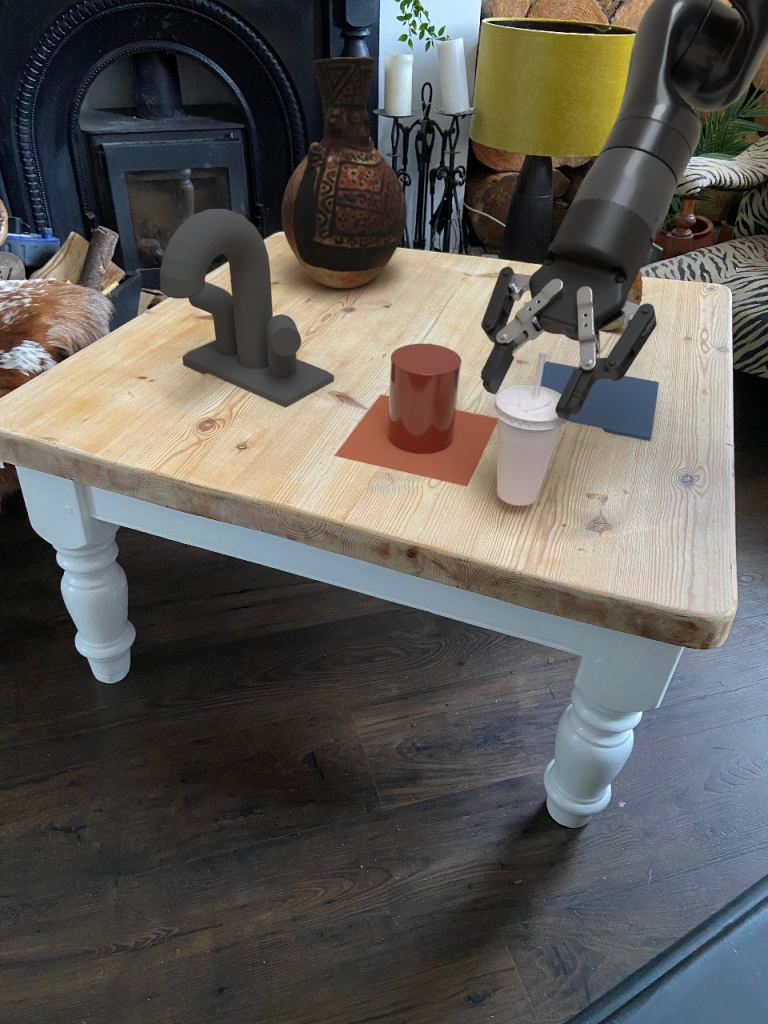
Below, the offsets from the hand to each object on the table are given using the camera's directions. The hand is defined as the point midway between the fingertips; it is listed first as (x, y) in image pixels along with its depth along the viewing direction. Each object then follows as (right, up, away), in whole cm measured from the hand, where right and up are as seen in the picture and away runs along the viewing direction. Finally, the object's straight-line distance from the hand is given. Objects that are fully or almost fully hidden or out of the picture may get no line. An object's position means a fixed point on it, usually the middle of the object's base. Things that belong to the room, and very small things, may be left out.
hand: (524, 402), depth 61 cm
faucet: (-29, +6, +26) cm, 40 cm away
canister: (-8, -1, +18) cm, 19 cm away
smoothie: (+1, -8, +7) cm, 11 cm away
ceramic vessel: (-18, +27, +54) cm, 63 cm away
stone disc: (+19, +17, +44) cm, 51 cm away
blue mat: (+13, +4, +26) cm, 30 cm away
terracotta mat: (-8, -1, +18) cm, 20 cm away
